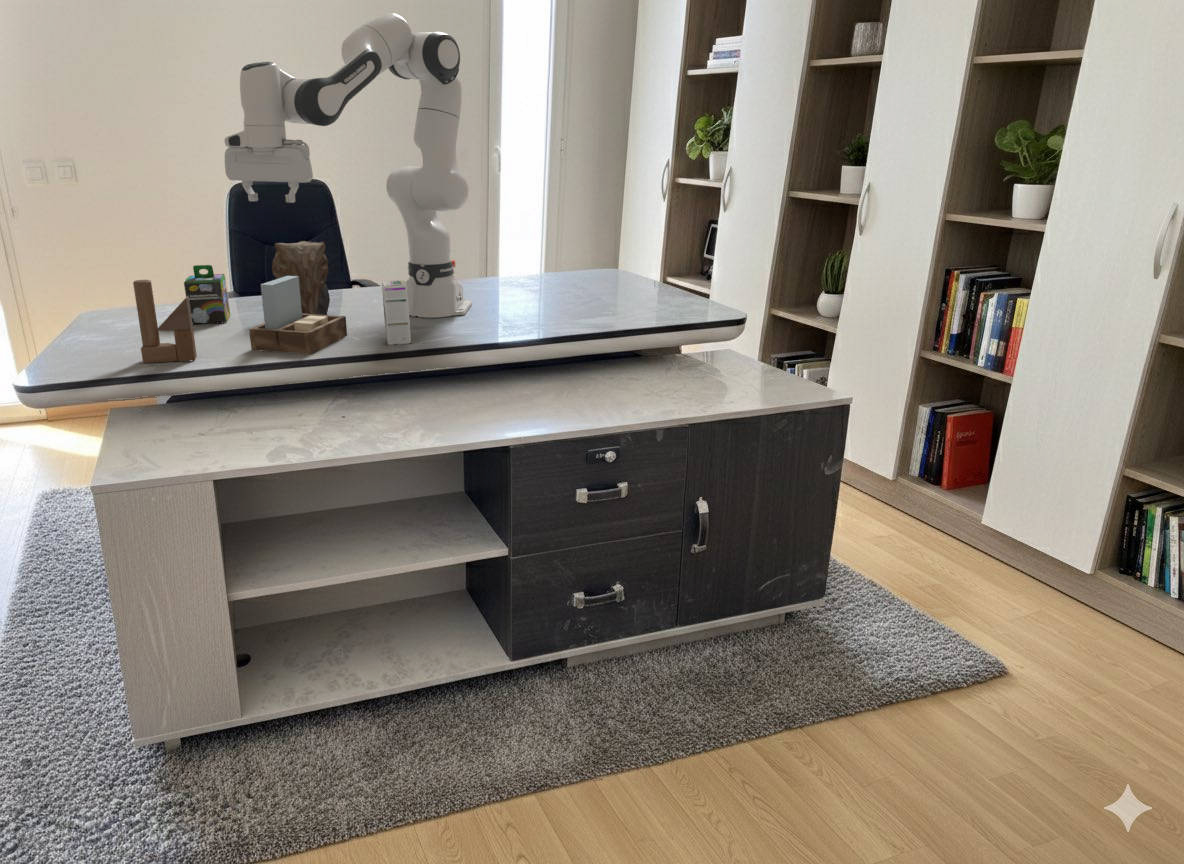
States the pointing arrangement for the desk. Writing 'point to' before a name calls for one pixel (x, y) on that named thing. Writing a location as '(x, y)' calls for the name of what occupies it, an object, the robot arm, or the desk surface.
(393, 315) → the syrup box
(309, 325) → the short pine offcut
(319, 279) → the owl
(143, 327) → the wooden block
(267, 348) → the walnut rack
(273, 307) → the tall sheet
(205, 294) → the chalk box
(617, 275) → the desk surface
